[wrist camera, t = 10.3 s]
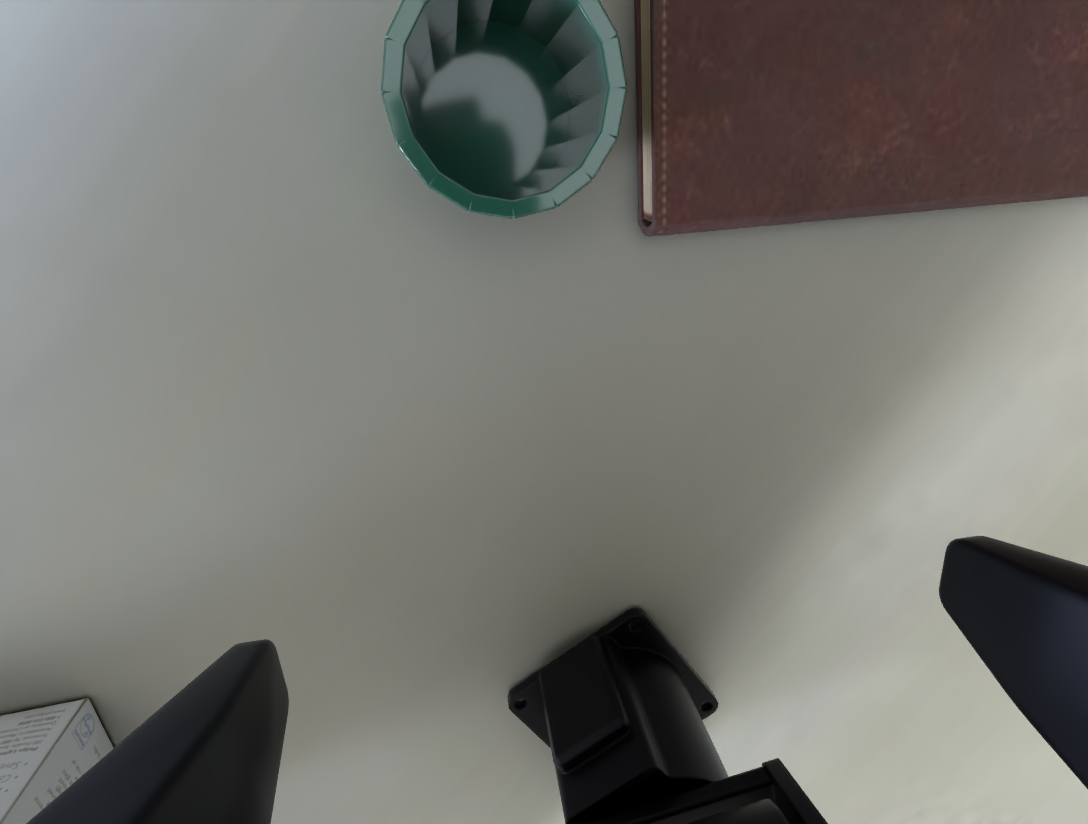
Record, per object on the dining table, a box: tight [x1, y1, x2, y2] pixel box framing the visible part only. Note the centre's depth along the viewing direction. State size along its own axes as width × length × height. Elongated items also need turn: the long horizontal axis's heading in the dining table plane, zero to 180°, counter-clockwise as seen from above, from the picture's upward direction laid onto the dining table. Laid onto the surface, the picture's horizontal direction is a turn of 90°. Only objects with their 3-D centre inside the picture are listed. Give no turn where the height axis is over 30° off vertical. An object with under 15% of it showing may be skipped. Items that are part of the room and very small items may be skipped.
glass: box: [381, 0, 627, 219], centre depth 15 cm, size 5×5×5 cm
